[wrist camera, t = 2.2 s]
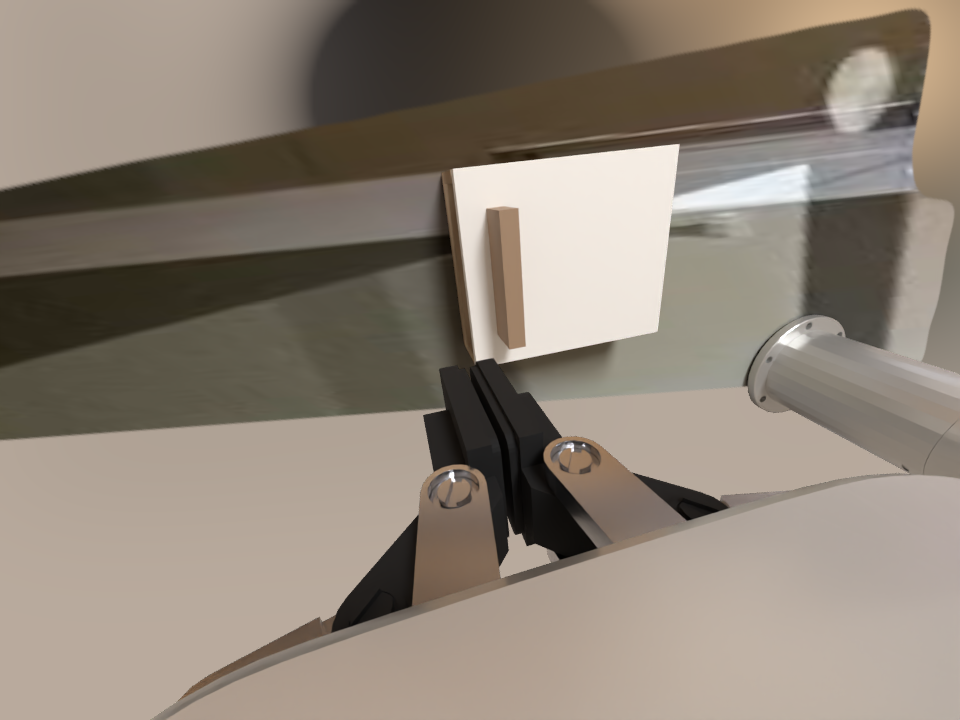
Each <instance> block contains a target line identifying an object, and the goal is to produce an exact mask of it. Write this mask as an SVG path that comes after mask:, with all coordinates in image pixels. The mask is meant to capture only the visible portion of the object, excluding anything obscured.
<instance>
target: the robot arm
mask: <svg viewBox="0 0 960 720" xmlns="http://www.w3.org/2000/svg"><path fill="white" fill-rule="evenodd" d="M439 371H440V377H441V383H442V389H443V395H444V401H445V406H446V410H444V411H440V412H435V413H431V414H426V415H423V417H424V422H425V428H426V433H427V438H428V444H429V449H430V454H431V459H432V465H433V470H434V472H433V473H432V474H431V475H430V476H429V477H427V479H426V480H425V482H424V483H423V485H422V489H421V492H420V503H419V515H418V516H417V517H416V518H415V519H414V520H413V522H412V523H411V524H410V525H409V526H408V527H407V528H406V530H405V531H404V532H403V533H402V534H401V536H400V537H399V538H398V539H397V540H396V541H395V542H394V544H393V545H392V546H391V547H390V548H389V549H388V550H387V551H386V553H385V554H384V555H383V556H382V557H381V558H380V560H379V561H378V562H377V563H376V564H375V565H374V567H373V568H372V569H371V570H370V571H369V572H368V573H367V575H366V576H365V577H364V578H363V579H362V580H361V582H360V583H359V584H358V585H357V586H356V587H355V588H354V590H353V591H352V592H351V593H350V594H349V595H348V597H347V598H346V599H345V601H344V602H343V603H342V605H341V606H340V608H339V609H338V611H337V614H336V615H334V616H333V617H331V618H329V619H327V620H325V621H323V622H322V620H321V619H320V617H318V618H316V619H314V620H312V621H310V622H308V623H307V624H305V625H303V626H301V627H299V628H297V629H296V630H293V631H291V632H290V633H288V634H286V635H284V636H282V637H280V638H278V639H276V640H274V641H272V642H271V643H269V644H267V645H265V646H263V647H261V648H260V649H257V650H256V651H254V652H252V653H250V654H248V655H246V656H244V657H242V658H240V659H238V660H236V661H235V662H233V663H231V664H229V665H227V666H225V667H223V668H221V669H220V670H218V671H216V672H214V673H212V674H210V675H208V676H207V677H205V678H204V679H202V680H201V681H200V682H198V683H197V684H195V685H194V686H192V687H191V688H190V689H189V690H188V691H187V692H186V693H185V694H184V695H183V696H182V697H181V698H180V699H179V700H178V701H177V702H176V703H175V704H173V705H172V706H170V707H169V708H167V709H166V710H164V711H163V712H161V713H160V714H158V715H157V716H155V717H154V718H153V719H151V720H960V374H958V373H954V372H951V371H948V370H945V369H942V368H939V367H936V366H933V365H929V364H926V363H923V362H920V361H917V360H914V359H911V358H908V357H904V356H901V355H898V354H895V353H892V352H889V351H886V350H882V349H879V348H876V347H873V346H870V345H867V344H864V343H861V342H857V341H854V340H851V339H848V338H845V332H844V330H843V328H842V326H841V324H840V323H839V322H838V321H836V320H834V319H832V318H830V317H826V316H822V315H809V316H804V317H802V318H799V319H797V320H794V321H793V322H791V323H789V324H787V325H786V326H784V327H783V328H782V329H780V330H779V331H778V332H776V333H775V334H774V335H773V336H772V337H771V338H770V339H769V340H768V342H767V343H766V344H765V345H764V346H763V348H762V349H761V350H760V352H759V354H758V355H757V357H756V358H755V361H754V363H753V365H752V367H751V370H750V373H749V378H748V393H749V396H750V399H751V400H752V401H753V403H754V404H755V405H757V406H758V407H760V408H762V409H764V410H766V411H768V412H774V413H776V412H784V411H788V410H793V411H794V412H796V413H798V414H800V415H802V416H804V417H805V418H807V419H809V420H811V421H813V422H815V423H817V424H818V425H820V426H822V427H824V428H826V429H828V430H830V431H832V432H834V433H835V434H837V435H839V436H841V437H843V438H845V439H846V440H848V441H850V442H852V443H854V444H856V445H858V446H859V447H861V448H863V449H865V450H867V451H869V452H870V453H872V454H874V455H876V456H878V457H880V458H882V459H884V460H885V461H887V462H889V463H891V464H893V465H895V466H897V467H898V468H900V469H902V470H904V471H906V472H908V473H910V474H880V475H866V476H858V477H851V478H845V479H838V480H833V481H829V482H825V483H820V484H816V485H811V486H807V487H802V488H799V489H795V490H792V491H779V492H764V493H750V494H736V495H722V496H721V500H720V501H719V500H717V499H715V498H714V497H712V496H709V495H706V494H703V493H701V492H698V491H694V490H691V489H687V488H684V487H680V486H677V485H674V484H670V483H667V482H663V481H660V480H656V479H653V478H649V477H646V476H642V475H638V474H635V473H632V472H630V471H629V470H628V469H627V468H626V467H625V466H624V465H622V464H621V463H620V462H619V461H618V460H617V459H616V458H614V457H613V456H612V455H611V454H610V453H609V452H607V451H606V450H605V449H604V448H603V447H602V446H600V445H599V444H597V443H596V442H594V441H592V440H589V439H587V438H583V437H577V436H573V437H572V436H571V437H563V438H562V437H561V435H560V434H559V432H558V431H557V430H556V428H555V427H554V426H553V424H552V423H551V422H550V420H549V419H548V417H547V416H546V415H545V413H544V412H543V411H542V409H541V408H540V406H539V405H538V404H537V402H536V401H535V400H534V398H533V397H532V396H531V394H530V393H529V392H525V393H521V394H517V392H516V391H515V389H514V388H513V386H512V385H511V383H510V382H509V380H508V379H507V377H506V376H505V374H504V373H503V371H502V370H501V368H500V367H499V365H498V364H497V362H496V361H495V359H494V358H490V359H485V360H480V361H476V362H475V366H474V367H470V376H471V380H470V378H469V376H468V374H467V372H466V370H465V368H464V369H459V368H458V366H457V365H456V366H451V367H446V368H441V369H439ZM507 516H508V518H507ZM508 519H509V522H510V524H511V527H512V529H513V532H514V534H515V535H517V534H521V533H522V535H523V538H524V540H525V543H526V545H527V546H529V545H532V544H538V545H540V546H542V547H545V548H547V554H548V557H549V559H550V561H551V563H549V564H546V565H543V566H540V567H536V568H533V569H530V570H527V571H524V572H520V573H517V574H514V575H511V576H508V577H505V578H501V577H500V571H499V566H500V565H501V563H502V561H503V560H504V558H505V556H506V554H507V553H508V551H509V549H508V540H507V537H509V528H508Z"/></svg>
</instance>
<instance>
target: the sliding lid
mask: <svg viewBox="0 0 960 720" xmlns="http://www.w3.org/2000/svg"><path fill="white" fill-rule="evenodd" d="M678 152H679V144H676V145H667V146H658V147H649V148H640V149H631V150H622V151H612V152H603V153H594V154H585V155H576V156H567V157H558V158H548V159H539V160H530V161H521V162H512V163H503V164H494V165H485V166H475V167H466V168H457V169H451V176H452V184H453V192H454V200H455V208H456V216H457V224H458V232H459V241H460V249H461V257H462V265H463V273H464V281H465V289H466V297H467V305H468V314H469V322H470V330H471V338H472V346H473V354H474V362H476V361H480V360H485V359H490V358H494V359H495V361H496V362H497V364H501V363H506V362H511V361H516V360H521V359H526V358H531V357H535V356H540V355H545V354H550V353H555V352H560V351H565V350H570V349H575V348H580V347H585V346H589V345H594V344H599V343H604V342H609V341H614V340H619V339H624V338H629V337H634V336H639V335H643V334H648V333H653V332H657V331H658V322H659V314H660V305H661V297H662V288H663V280H664V271H665V263H666V254H667V246H668V237H669V229H670V220H671V212H672V203H673V194H674V186H675V177H676V169H677V160H678Z"/></svg>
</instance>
